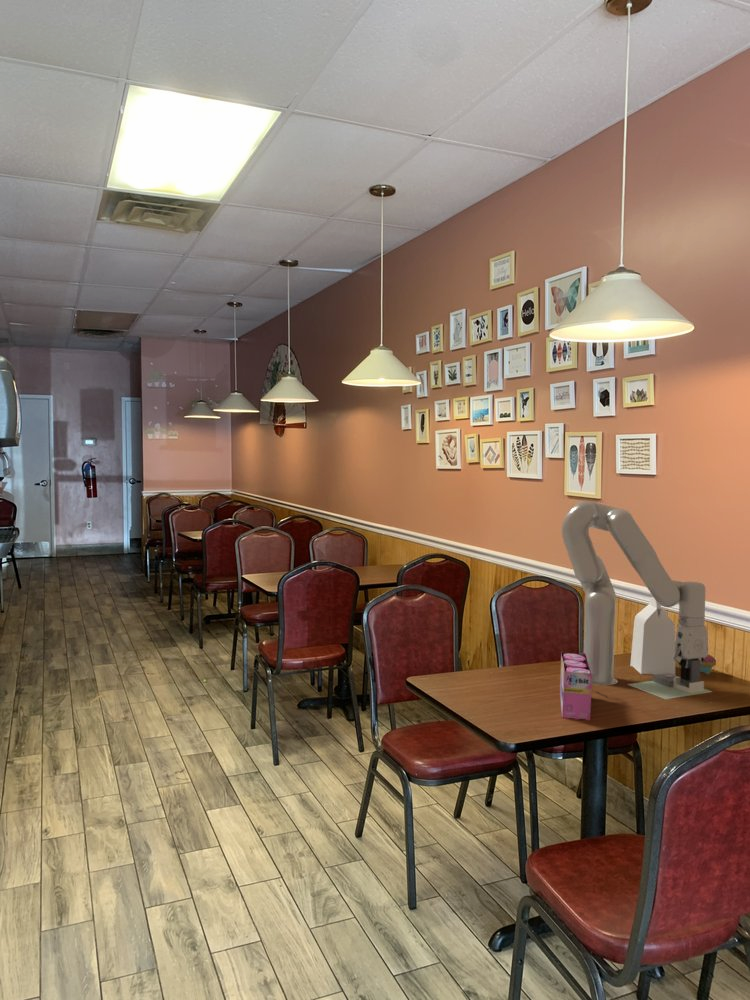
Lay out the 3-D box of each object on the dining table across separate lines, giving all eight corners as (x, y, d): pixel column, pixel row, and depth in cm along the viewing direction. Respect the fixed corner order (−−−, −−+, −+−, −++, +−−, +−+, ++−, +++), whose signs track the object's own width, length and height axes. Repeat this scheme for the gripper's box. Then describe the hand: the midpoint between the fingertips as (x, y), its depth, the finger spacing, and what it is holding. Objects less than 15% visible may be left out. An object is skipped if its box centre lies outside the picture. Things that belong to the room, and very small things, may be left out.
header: (690, 693, 231) (690, 683, 231) (673, 686, 237) (673, 677, 237) (703, 690, 233) (704, 681, 233) (686, 684, 239) (686, 675, 239)
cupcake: (689, 668, 263) (690, 635, 262) (715, 672, 259) (717, 638, 258) (688, 675, 255) (689, 640, 254) (715, 678, 251) (716, 643, 251)
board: (665, 703, 224) (665, 699, 224) (626, 688, 239) (627, 684, 239) (712, 695, 233) (712, 691, 233) (672, 681, 247) (672, 677, 247)
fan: (669, 687, 236) (669, 680, 236) (652, 681, 243) (652, 674, 242) (685, 684, 239) (685, 677, 239) (668, 678, 245) (668, 672, 245)
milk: (630, 667, 263) (632, 595, 261) (663, 668, 262) (665, 595, 261) (640, 677, 251) (643, 601, 249) (675, 678, 250) (678, 602, 249)
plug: (691, 686, 232) (692, 661, 231) (679, 682, 236) (679, 657, 236) (699, 685, 233) (700, 659, 233) (687, 680, 238) (687, 656, 237)
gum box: (558, 692, 233) (560, 650, 232) (585, 694, 231) (586, 651, 230) (561, 718, 209) (563, 671, 209) (591, 721, 208) (592, 673, 207)
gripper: (681, 626, 227) (680, 685, 228) (720, 621, 234) (718, 679, 235) (662, 621, 234) (661, 678, 235) (700, 617, 241) (699, 672, 242)
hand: (690, 678), depth 235 cm, fingers closed on plug, 3 cm apart
